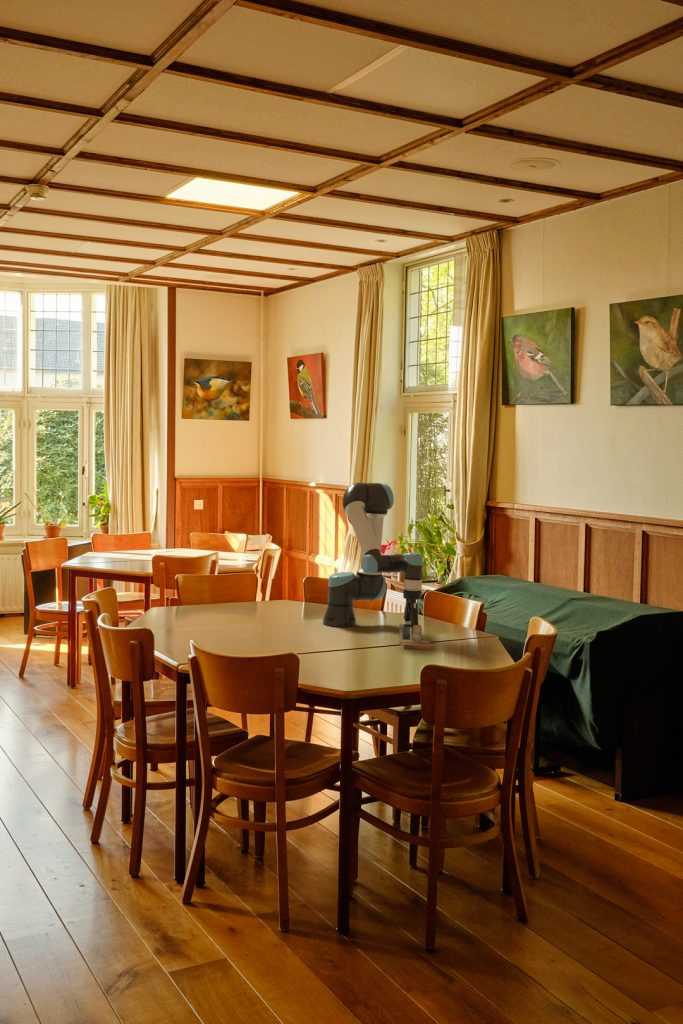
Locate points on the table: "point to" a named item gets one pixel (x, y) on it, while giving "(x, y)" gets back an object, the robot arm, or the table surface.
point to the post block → (416, 641)
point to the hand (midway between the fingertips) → (410, 639)
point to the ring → (405, 631)
